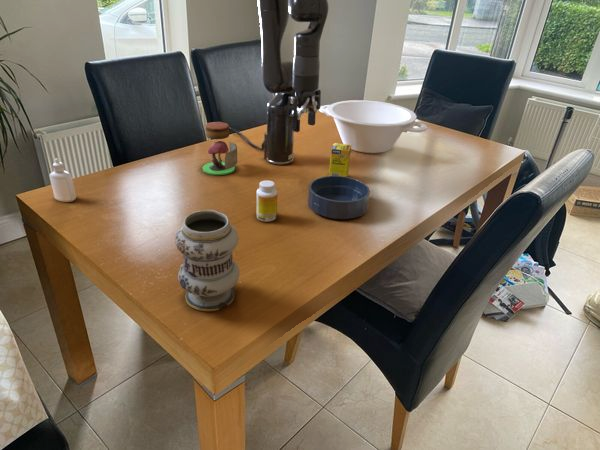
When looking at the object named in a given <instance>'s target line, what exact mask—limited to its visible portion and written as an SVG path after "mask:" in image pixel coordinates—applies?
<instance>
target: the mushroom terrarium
mask: <svg viewBox="0 0 600 450" xmlns="http://www.w3.org/2000/svg"><path fill="white" fill-rule="evenodd" d="M229 128H230V125H229V123H226V122H222V121H212V122H207V123H206V124H205V137H206V138H208V139H210V140H211V139H212V140H217V141H214V142H213V144H212V145H210V146H209V147H208V149H207V151H206V153H207V154H209V155H211V160H210V162H207V163H205V164H204V165H203V166H202V171H203V173H205V174H207V175H210V176H226V175H230V174H232V173H234V172H235V170H236V165H237V164H238V145H237V144H236V143H235V142H230V141H229V142H228V145H227V143H226V142H225V141H224V140H225V139H228V138H229V137H230V130H229ZM228 146H229V147H228ZM221 154H225V156H224V161H223V159H222V157H221ZM216 155H217V157H218V158H217V157H216Z"/></svg>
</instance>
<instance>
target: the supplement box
mask: <svg viewBox="0 0 600 450" xmlns="http://www.w3.org/2000/svg"><path fill="white" fill-rule="evenodd" d="M351 146H352V145H347V144H343V143H337V142H334V143H333V144H332V146H331V148H330V158H329V167H328V168H329V169H328V176H343V177H349V170H350V162H351V154H352V150H351Z"/></svg>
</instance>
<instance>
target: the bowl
mask: <svg viewBox="0 0 600 450" xmlns="http://www.w3.org/2000/svg"><path fill="white" fill-rule="evenodd" d="M370 197H371V189H370V187H369V186H368V185H367V184H366V183H365V182H363V181H361V180H359V179H356V178H353V177H350V176H348V177H343V176H329V175H327V176H320V177H317V178H315V179H313V180H311V181H310V183H309V185H308V193H307V205H308V208H310V210H311V211H312V212H314V213H316V214H317V215H320V216H322V217H325V218H328V219H333V220H351V219H356V218H359V217H361V216H363V215H365V213H367V211H368V209H369V205H370Z"/></svg>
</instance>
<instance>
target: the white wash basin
mask: <svg viewBox="0 0 600 450" xmlns="http://www.w3.org/2000/svg"><path fill="white" fill-rule="evenodd" d="M318 111H319V112H320V113H321V114H325V115H326V117H332V118H333V120H334V123H335V125H336V129H337V131H338V133H339V136H340V139H341V141H342V144H347V145H352V146H351V151H354V152H357V153H363V154H382V153H386V152H388V151H390V150H392V148H393V146H395V143H396V142H397V140H398V139H399V138H400V136H401V135H402V134H403V133H405V134H406V133H408V132H409V133H423V132H426V131H427V130H428V126H427V124H425V123H422V122H420V121H417V118H418V117H417V114H416V113H415V112H414V111H413V110H410V109H409V108H407V107H404V106H401V105H398V104H394V103H390V102H384V101H377V100H364V99H362V100H361V99H353V100H341V101H336V102H334V103H331V104H325V105H320V109H319V110H318Z"/></svg>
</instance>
